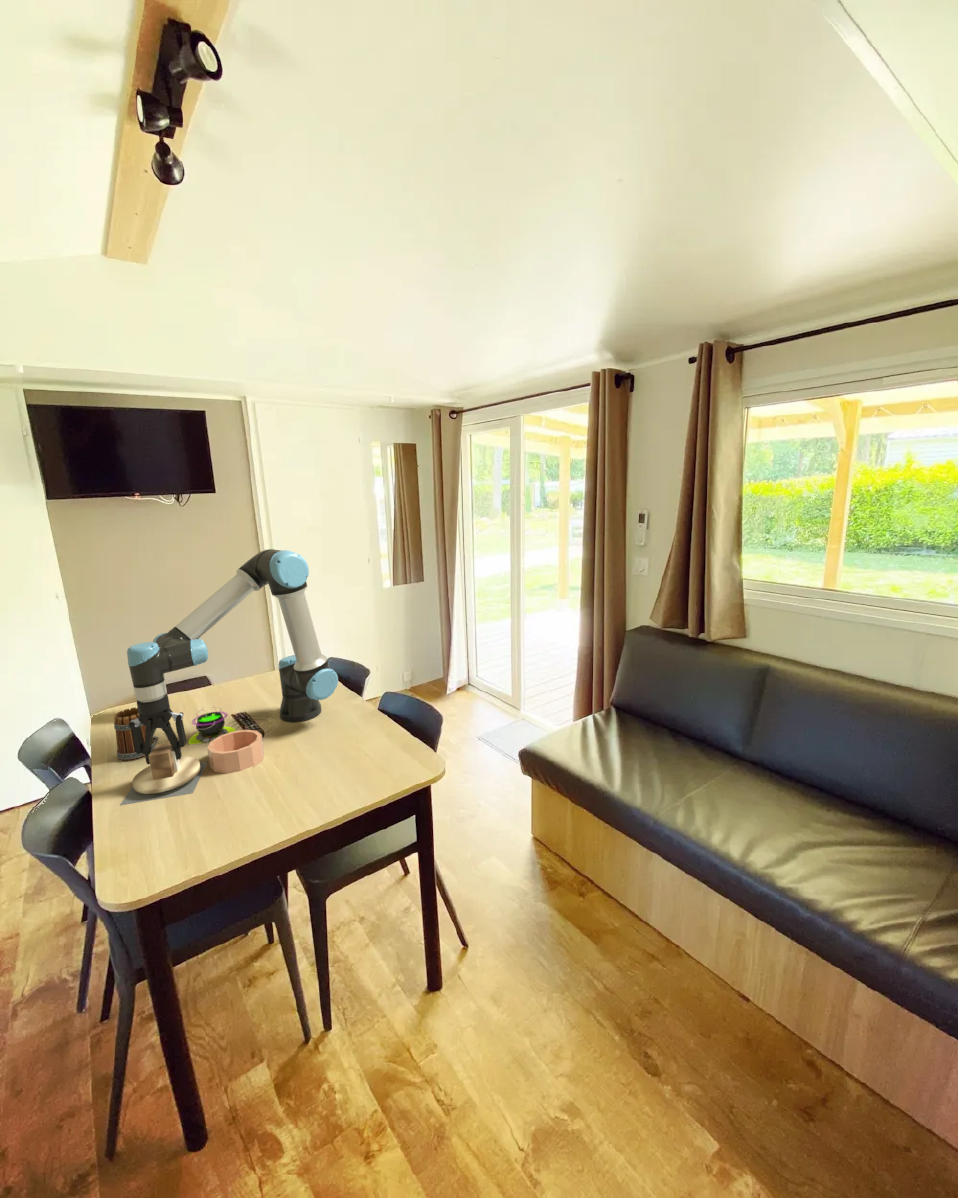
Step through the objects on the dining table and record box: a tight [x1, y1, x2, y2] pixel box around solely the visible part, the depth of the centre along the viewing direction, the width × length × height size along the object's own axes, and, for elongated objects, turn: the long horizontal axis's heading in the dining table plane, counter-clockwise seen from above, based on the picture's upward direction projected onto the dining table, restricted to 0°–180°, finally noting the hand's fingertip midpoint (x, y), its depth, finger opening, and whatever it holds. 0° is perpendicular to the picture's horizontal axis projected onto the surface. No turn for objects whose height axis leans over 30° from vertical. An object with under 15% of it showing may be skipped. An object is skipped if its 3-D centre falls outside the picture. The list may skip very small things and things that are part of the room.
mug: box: [113, 707, 159, 762], centre depth 166 cm, size 16×11×15 cm
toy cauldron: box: [188, 705, 237, 746], centre depth 176 cm, size 15×15×11 cm
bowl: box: [207, 729, 265, 774], centre depth 159 cm, size 15×15×7 cm
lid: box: [131, 741, 201, 794], centre depth 147 cm, size 17×17×9 cm
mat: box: [119, 760, 209, 806], centre depth 148 cm, size 18×18×1 cm
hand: (166, 770), depth 148 cm, fingers closed on lid, 5 cm apart
